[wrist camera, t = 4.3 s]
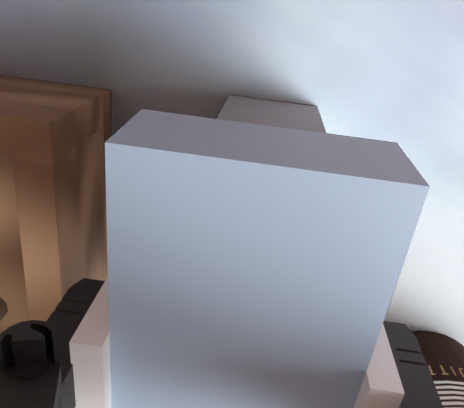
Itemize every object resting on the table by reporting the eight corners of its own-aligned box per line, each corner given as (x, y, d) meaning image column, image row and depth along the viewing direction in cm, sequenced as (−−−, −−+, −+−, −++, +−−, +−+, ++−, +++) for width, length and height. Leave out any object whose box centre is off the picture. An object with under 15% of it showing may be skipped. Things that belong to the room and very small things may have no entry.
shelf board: (141, 108, 10) (105, 142, 8) (396, 142, 10) (429, 186, 8) (136, 438, 16) (113, 513, 14) (303, 465, 16) (307, 545, 13)
